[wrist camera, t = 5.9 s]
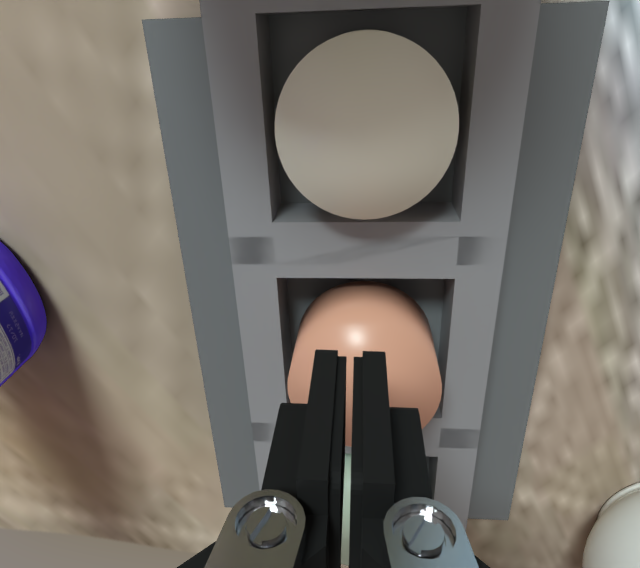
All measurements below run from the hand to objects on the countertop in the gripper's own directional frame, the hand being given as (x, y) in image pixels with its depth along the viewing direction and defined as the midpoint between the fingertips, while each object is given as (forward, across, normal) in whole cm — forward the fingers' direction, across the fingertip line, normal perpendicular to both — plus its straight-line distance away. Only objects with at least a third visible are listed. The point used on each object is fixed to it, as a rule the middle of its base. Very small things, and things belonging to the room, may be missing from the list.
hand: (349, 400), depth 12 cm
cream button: (+8, 0, -6) cm, 9 cm away
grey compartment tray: (+11, 0, +2) cm, 11 cm away
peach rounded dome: (+7, 0, +2) cm, 7 cm away
